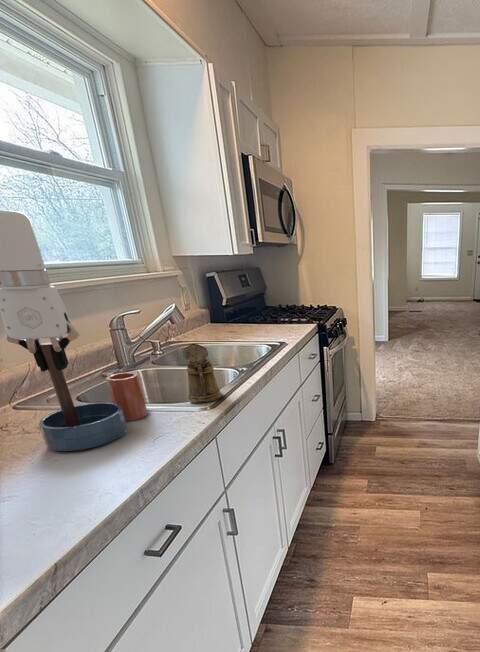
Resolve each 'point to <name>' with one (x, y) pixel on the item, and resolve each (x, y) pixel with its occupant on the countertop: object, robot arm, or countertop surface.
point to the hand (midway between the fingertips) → (54, 368)
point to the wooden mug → (200, 375)
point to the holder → (127, 394)
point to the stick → (60, 386)
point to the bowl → (84, 427)
